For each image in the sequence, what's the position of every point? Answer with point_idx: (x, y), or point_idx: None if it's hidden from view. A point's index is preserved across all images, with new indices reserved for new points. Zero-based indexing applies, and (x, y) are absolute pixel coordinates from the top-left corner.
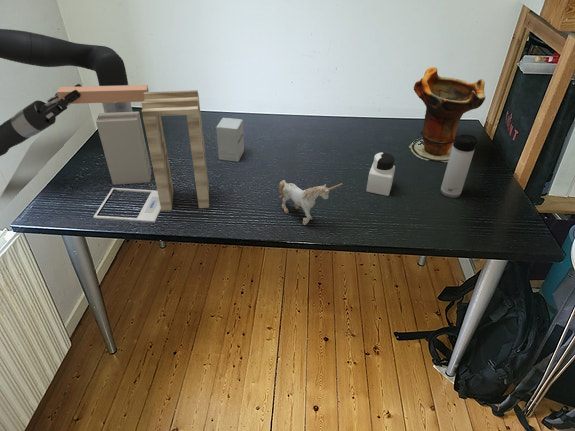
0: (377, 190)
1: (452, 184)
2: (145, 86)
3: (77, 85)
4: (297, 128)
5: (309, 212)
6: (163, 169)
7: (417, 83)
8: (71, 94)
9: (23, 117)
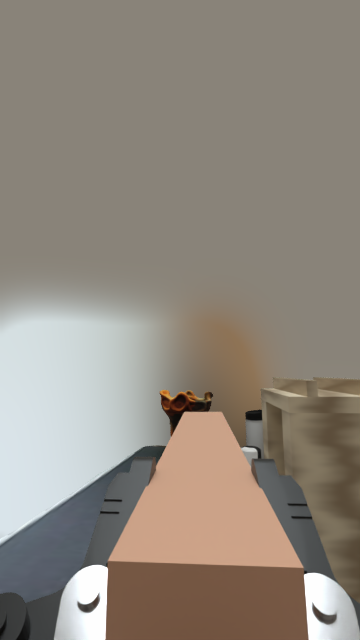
0: None
1: (263, 454)
2: (195, 412)
3: (153, 465)
4: (87, 517)
5: None
6: None
7: (173, 400)
8: (288, 506)
9: None
